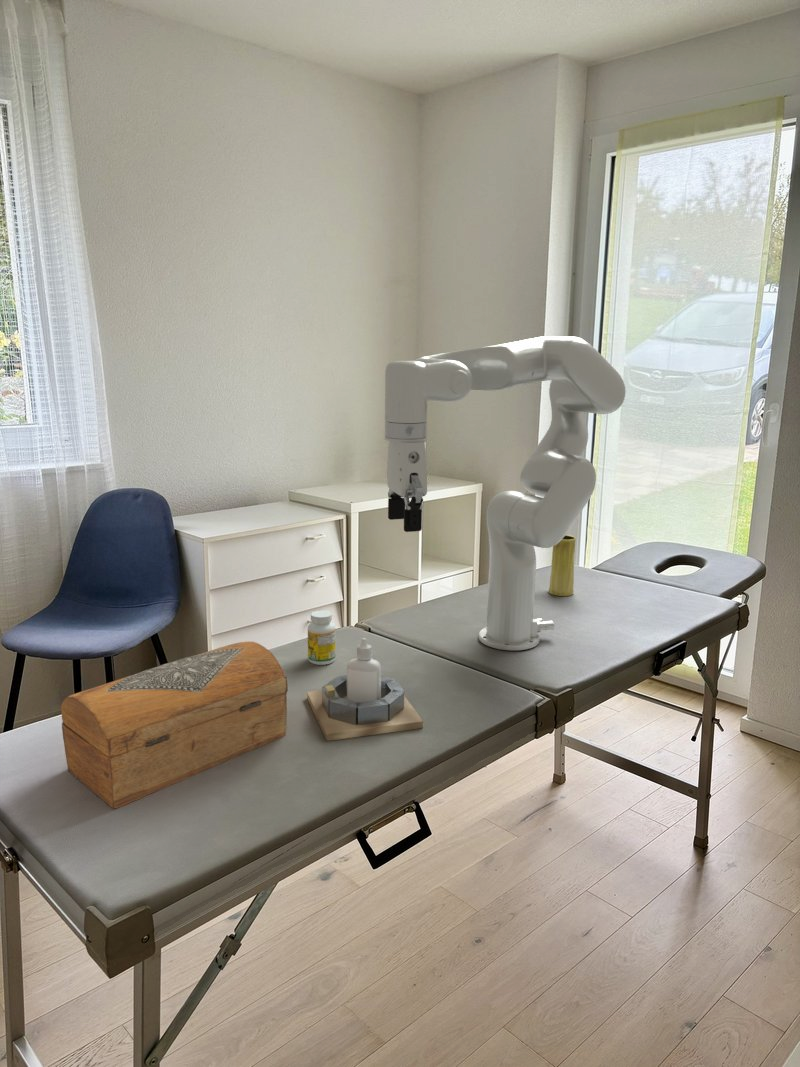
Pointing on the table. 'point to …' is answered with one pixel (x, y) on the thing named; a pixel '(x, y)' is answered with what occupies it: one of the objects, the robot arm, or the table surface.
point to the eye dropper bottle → (363, 676)
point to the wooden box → (173, 721)
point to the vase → (563, 567)
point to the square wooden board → (343, 730)
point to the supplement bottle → (321, 638)
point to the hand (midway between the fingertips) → (404, 524)
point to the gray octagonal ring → (362, 710)
